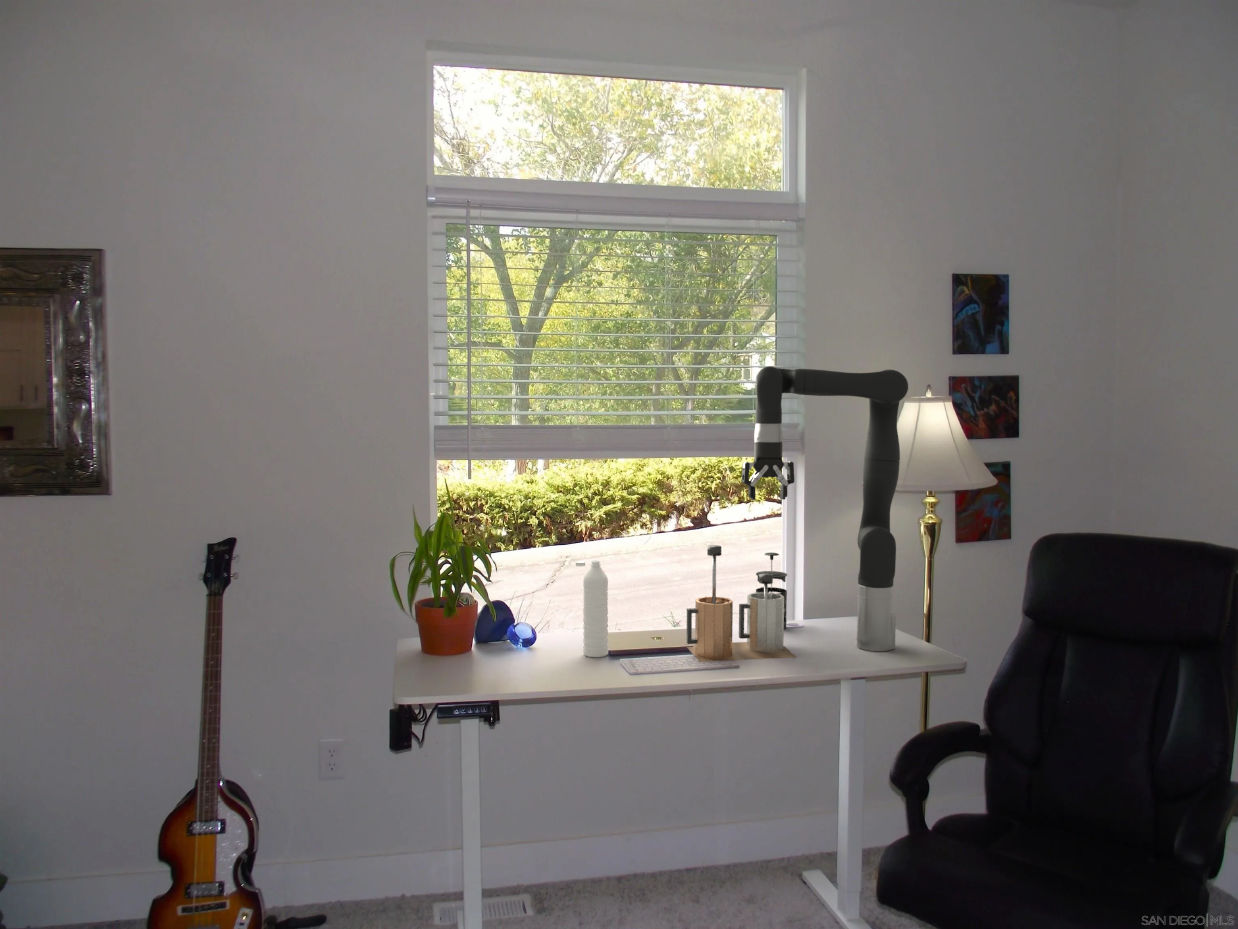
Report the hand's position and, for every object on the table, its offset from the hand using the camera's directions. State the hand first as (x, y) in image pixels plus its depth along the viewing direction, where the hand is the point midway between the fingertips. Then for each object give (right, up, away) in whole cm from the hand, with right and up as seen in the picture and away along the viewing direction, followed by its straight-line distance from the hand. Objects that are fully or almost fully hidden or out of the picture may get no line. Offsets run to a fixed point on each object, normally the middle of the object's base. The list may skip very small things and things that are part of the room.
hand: (767, 499), depth 238 cm
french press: (+4, -39, +17) cm, 43 cm away
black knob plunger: (-16, -28, -12) cm, 34 cm away
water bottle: (-48, -41, -8) cm, 64 cm away
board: (-9, -41, -8) cm, 43 cm away
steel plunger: (-2, -36, -6) cm, 36 cm away
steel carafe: (-3, -39, -6) cm, 40 cm away
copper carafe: (-17, -40, -11) cm, 45 cm away
